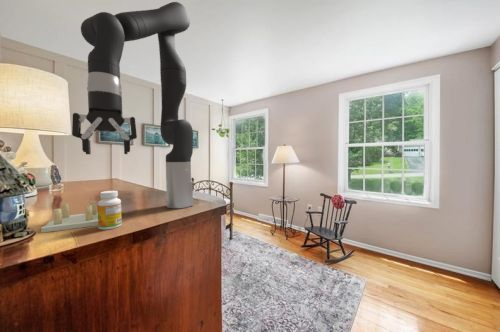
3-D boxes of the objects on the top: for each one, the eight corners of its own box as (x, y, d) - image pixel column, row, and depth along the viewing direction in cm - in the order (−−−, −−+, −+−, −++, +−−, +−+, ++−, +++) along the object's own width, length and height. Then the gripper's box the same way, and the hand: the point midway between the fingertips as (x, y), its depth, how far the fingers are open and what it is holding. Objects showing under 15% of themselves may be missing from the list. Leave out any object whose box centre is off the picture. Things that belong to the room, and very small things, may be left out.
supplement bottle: (97, 226, 58) (95, 191, 57) (119, 222, 61) (118, 189, 61) (99, 231, 54) (97, 194, 53) (123, 226, 57) (122, 191, 57)
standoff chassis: (104, 215, 69) (104, 199, 69) (98, 225, 59) (98, 206, 59) (57, 220, 64) (56, 203, 64) (41, 232, 53) (40, 212, 53)
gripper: (135, 100, 63) (137, 154, 63) (75, 94, 56) (78, 154, 57) (135, 93, 56) (137, 154, 57) (66, 85, 49) (70, 154, 50)
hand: (107, 154), depth 57 cm, fingers open, 8 cm apart
